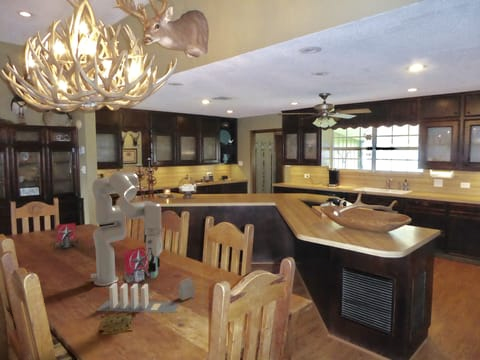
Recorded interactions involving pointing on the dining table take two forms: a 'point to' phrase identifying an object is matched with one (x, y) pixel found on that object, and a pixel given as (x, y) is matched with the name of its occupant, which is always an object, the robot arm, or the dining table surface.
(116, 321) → the pastry
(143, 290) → the domino
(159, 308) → the board
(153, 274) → the domino
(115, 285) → the domino
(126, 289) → the domino
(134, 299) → the domino
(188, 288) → the grey upright block
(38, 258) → the dining table surface
